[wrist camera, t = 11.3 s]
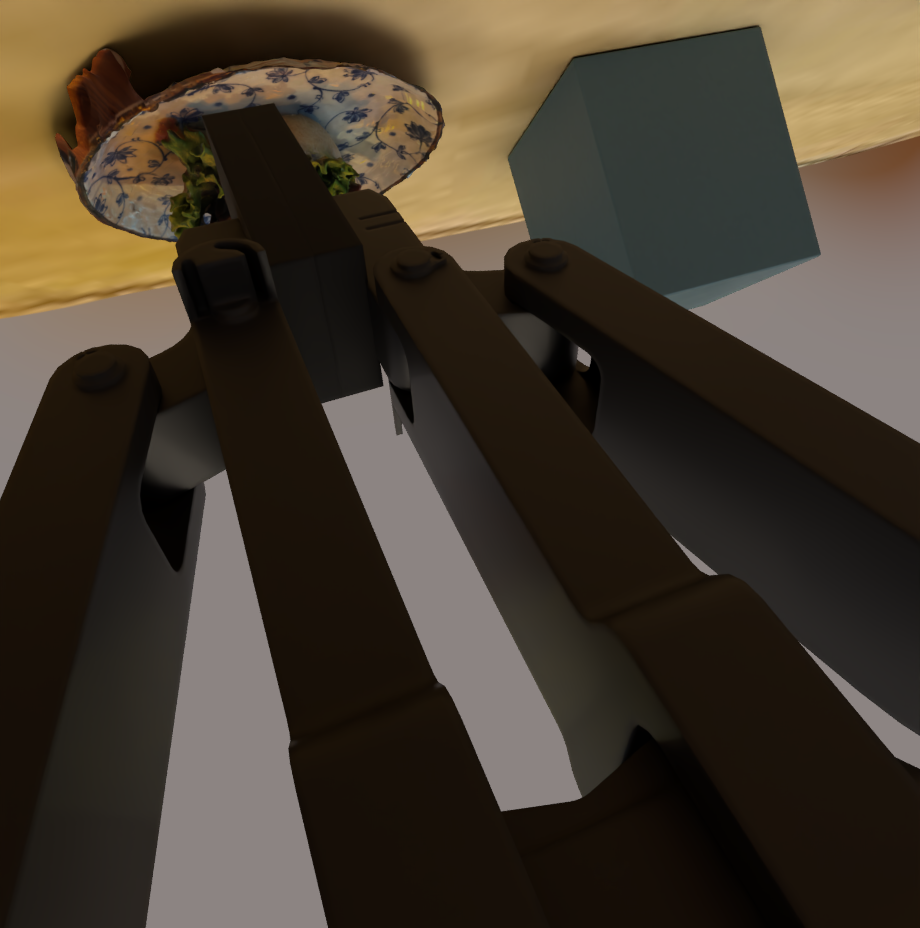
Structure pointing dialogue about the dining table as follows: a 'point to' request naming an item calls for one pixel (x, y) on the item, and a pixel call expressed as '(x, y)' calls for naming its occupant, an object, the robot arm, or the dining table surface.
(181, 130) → the burger
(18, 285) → the dining table surface
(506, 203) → the dining table surface
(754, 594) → the robot arm
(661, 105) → the slate block
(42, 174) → the dining table surface
